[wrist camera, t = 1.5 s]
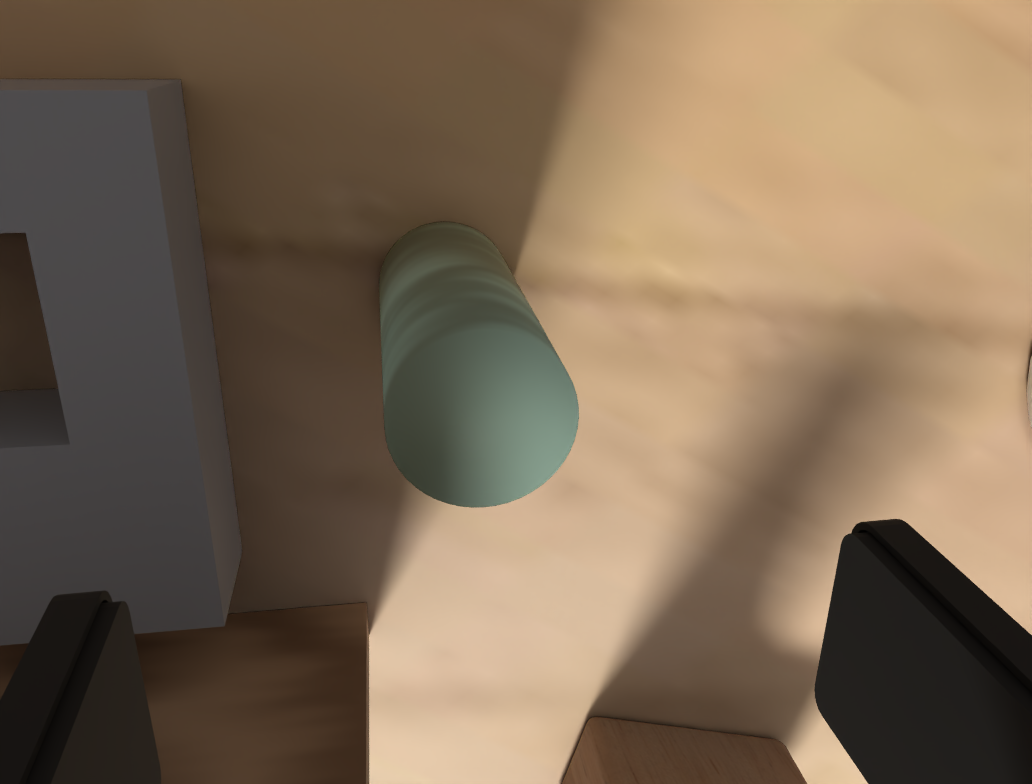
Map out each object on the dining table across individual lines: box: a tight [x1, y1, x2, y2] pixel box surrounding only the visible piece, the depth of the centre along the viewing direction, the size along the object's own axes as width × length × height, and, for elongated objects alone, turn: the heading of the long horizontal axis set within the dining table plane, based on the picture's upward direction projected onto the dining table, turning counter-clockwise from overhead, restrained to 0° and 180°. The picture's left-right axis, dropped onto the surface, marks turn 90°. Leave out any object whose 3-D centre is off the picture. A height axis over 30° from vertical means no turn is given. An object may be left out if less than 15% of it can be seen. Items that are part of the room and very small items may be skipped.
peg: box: [379, 222, 579, 507], centre depth 22 cm, size 4×4×10 cm
